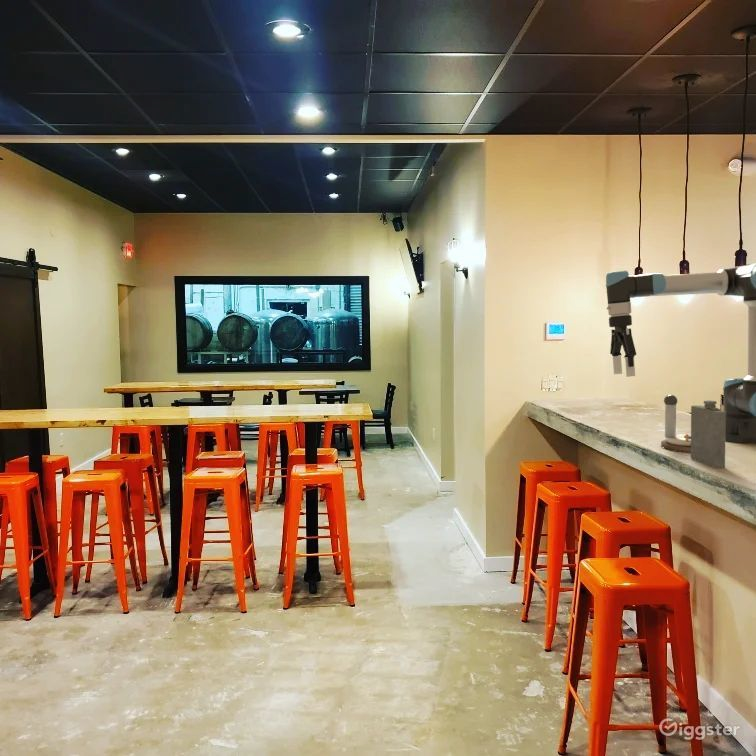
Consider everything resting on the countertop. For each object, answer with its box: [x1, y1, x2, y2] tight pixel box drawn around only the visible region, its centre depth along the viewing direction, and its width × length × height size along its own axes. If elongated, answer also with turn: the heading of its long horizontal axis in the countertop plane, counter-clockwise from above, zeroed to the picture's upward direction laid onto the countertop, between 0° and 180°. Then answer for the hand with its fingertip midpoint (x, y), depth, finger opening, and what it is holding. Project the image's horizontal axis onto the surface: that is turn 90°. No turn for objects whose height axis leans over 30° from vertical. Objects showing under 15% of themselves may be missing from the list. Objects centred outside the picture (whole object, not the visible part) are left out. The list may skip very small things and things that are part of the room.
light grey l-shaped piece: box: [663, 394, 691, 446], centre depth 223 cm, size 16×15×17 cm
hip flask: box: [690, 400, 726, 469], centre depth 199 cm, size 16×4×20 cm, turn 3°
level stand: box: [660, 439, 691, 453], centre depth 224 cm, size 18×18×5 cm
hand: (624, 375), depth 222 cm, fingers open, 13 cm apart
